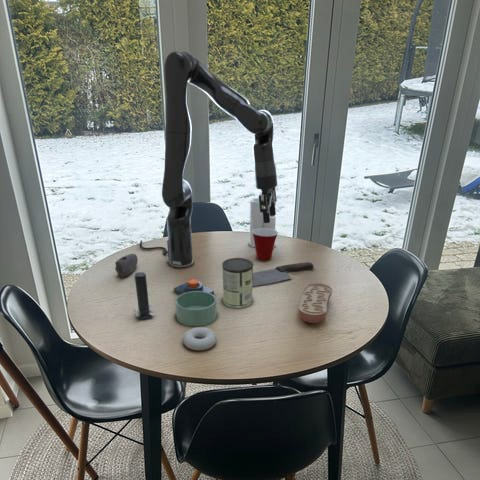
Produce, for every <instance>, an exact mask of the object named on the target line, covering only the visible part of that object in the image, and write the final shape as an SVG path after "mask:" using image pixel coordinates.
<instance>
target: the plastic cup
mask: <svg viewBox="0 0 480 480" xmlns="http://www.w3.org/2000/svg"><path fill="white" fill-rule="evenodd" d="M252 233H253V236H254V242H255V247H254V248H255V253H256V259H257V260H258V261H260V262H268V261H269V262H270V261H271V259H272V255H273V252H274V248H275V243H276V239H277V236H278V235H279V231H278V230H276V229H275V230H273V229H267V228H259V229H254V230H252Z"/></svg>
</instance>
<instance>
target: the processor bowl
mask: <svg viewBox="0 0 480 480" xmlns="http://www.w3.org/2000/svg"><path fill="white" fill-rule="evenodd" d="M174 301H175V312H176V314H175V315H176V320H177V322H179V323H180V324H182V325H184V326H187V327H188V326H189V327H203V326H206V325H210V324H212V323H213V322H214V321H215V320H216V319H217V313H218V312H217V310H218V309H217V306H218V305H217V298H216V296H215V294H214V295H213V294H211V293H208V292H204V291H190V292H186V293H183V294H181V295H179V294H178V295H177V296H176V298H175V300H174Z"/></svg>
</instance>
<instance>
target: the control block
mask: <svg viewBox="0 0 480 480" xmlns="http://www.w3.org/2000/svg"><path fill="white" fill-rule="evenodd" d="M198 283H199V286H198V287H194V288H192V287H189V286H188V281H187V282H185V283H183V284H180V285H177V286H175V287H173V292H174V293H175V294H177V295H178V296H179V295H181V294H183V293H186V292H190V291H204V292H208V293H211V294H213V295H214V296H215V291H214V290H213V289H211V288H209V287H206V286H204V284H203V282H201V281H199V280H198Z"/></svg>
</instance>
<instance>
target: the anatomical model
mask: <svg viewBox="0 0 480 480" xmlns="http://www.w3.org/2000/svg"><path fill="white" fill-rule="evenodd" d="M301 291H302V292H301V293H300V295H299V298H298V307H297V308H298V314H299V316H300V318H301V319H302V320H303V321H305V322H307V323H309V324H316V323H320V322H321V321H322V320H324V319H325V318H326V315H327V313H328V301H329V300H330V298H331V297H332V294H333V288H332V287H331V286H330V285H328V284H326V283H321V282H320V283H317V282H316V283H315V282H314V283H309V284H307V285H306V286H305V287H304V288H303V290H301Z"/></svg>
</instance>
